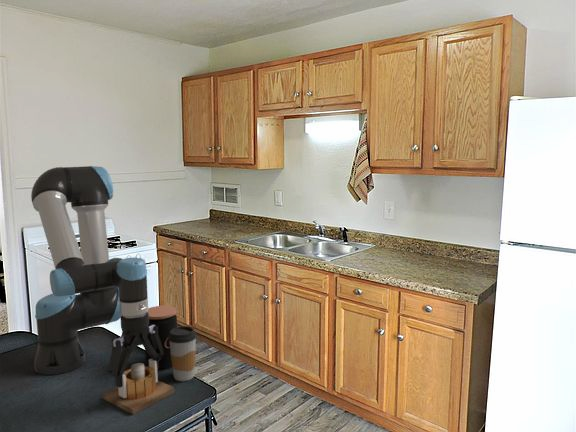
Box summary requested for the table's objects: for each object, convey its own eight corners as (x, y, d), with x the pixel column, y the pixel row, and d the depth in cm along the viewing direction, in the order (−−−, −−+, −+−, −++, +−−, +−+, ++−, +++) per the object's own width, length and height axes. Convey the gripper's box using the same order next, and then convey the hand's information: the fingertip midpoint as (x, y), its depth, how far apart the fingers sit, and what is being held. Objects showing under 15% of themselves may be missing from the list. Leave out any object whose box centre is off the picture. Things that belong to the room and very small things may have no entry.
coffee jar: (170, 372, 146) (167, 317, 143) (139, 369, 148) (136, 315, 145) (184, 357, 156) (182, 306, 154) (155, 354, 158) (152, 304, 156)
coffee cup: (186, 367, 149) (184, 323, 146) (203, 375, 143) (201, 329, 141) (164, 377, 142) (162, 331, 140) (181, 386, 137) (179, 338, 135)
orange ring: (115, 392, 131) (114, 376, 130) (142, 379, 138) (141, 363, 137) (135, 402, 125) (134, 385, 125) (162, 388, 133) (161, 372, 132)
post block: (103, 398, 130) (101, 368, 129) (144, 378, 142) (142, 351, 140) (133, 414, 122) (131, 383, 121) (174, 392, 133) (173, 363, 132)
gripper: (106, 329, 117) (111, 410, 121) (174, 305, 135) (178, 376, 138) (89, 322, 122) (95, 401, 125) (158, 300, 140) (161, 369, 143)
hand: (138, 388), depth 132 cm, fingers open, 10 cm apart
